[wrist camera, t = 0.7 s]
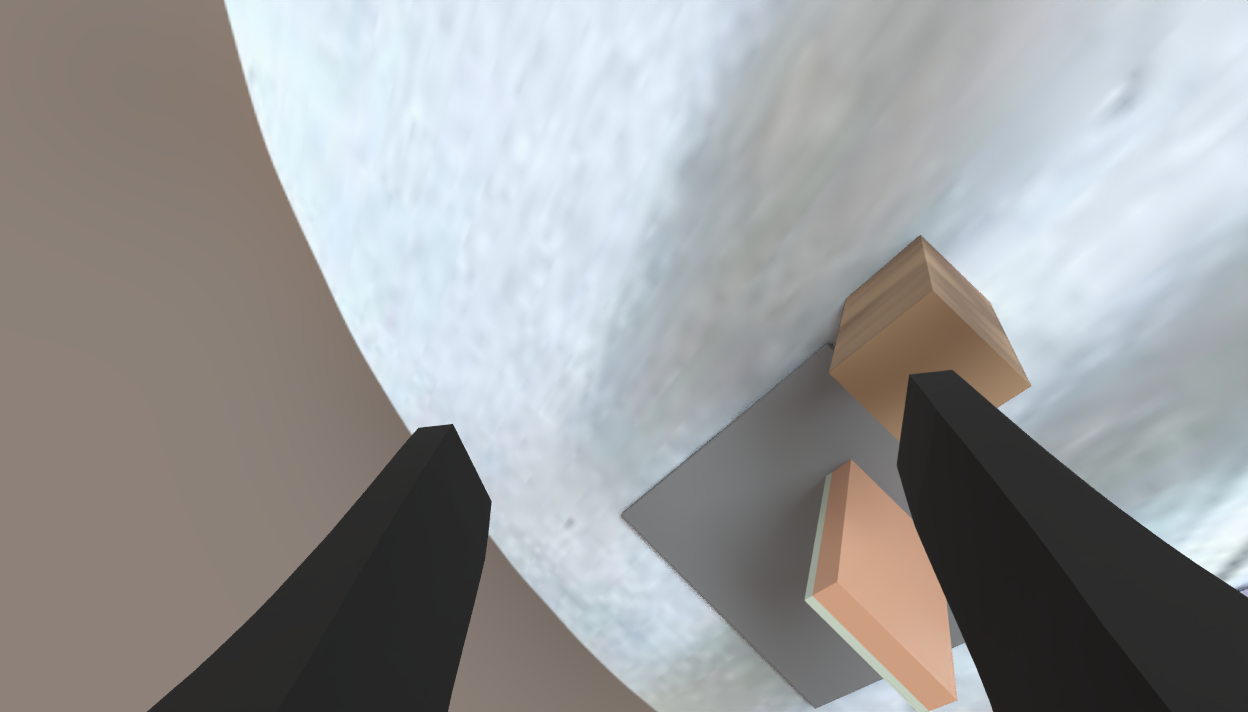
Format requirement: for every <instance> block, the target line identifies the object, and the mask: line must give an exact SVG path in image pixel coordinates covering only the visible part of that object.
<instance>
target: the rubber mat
mask: <svg viewBox="0 0 1248 712" xmlns="http://www.w3.org/2000/svg"><path fill="white" fill-rule="evenodd" d="M833 353H834V348H833V347H832V346H831V345H830V344H829V343H827V344H826V345H825V346H823V347H822V348H821V349H820V350H819V351H817V352H816V353H815V354H814V355H813V356H811V357H810V358H809V359H808V360H807V361H805V362H804V363H803V364H802V365H800V366H799V367H798V368H797V369H796V370H794V371H793V372H792V373H791V374H790V375H788V376H787V377H786V378H785V379H784V380H782V381H781V382H780V383H779V384H778V385H776V386H775V387H774V388H773V389H771V390H770V391H769V392H768V393H767V394H765V395H764V396H763V397H762V398H761V399H759V400H758V401H757V402H756V403H755V404H753V405H752V406H751V407H750V408H748V409H747V410H746V411H745V412H744V413H742V414H741V415H740V416H739V417H738V418H736V419H735V420H734V421H733V422H732V423H730V424H729V425H728V426H727V427H726V428H724V429H723V430H722V431H721V432H719V433H718V434H717V435H716V436H715V437H713V438H712V439H711V440H710V441H709V442H707V443H706V444H705V445H704V446H703V447H701V448H700V449H699V450H698V451H696V452H695V453H694V454H693V455H692V456H690V457H689V458H688V459H687V460H686V461H684V462H683V463H682V464H681V465H680V466H678V467H677V468H676V469H675V470H673V471H672V472H671V473H670V474H669V475H667V476H666V477H665V478H664V479H663V480H661V481H660V482H659V483H658V484H657V485H655V486H654V487H653V488H652V489H651V490H649V491H648V492H647V493H646V494H644V495H643V496H642V497H641V498H640V499H638V500H637V501H636V502H635V503H634V504H632V505H631V506H630V507H629V508H628V509H626V510H625V511H624V512H623V513H622V515H621V516H622V517H623V518H624V519H625V520H626V521H627V522H628V523H629V524H630V525H631V526H632V527H633V528H634V529H635V530H636V531H637V532H638V533H639V534H640V535H641V536H642V537H643V538H644V539H645V540H646V541H647V542H648V543H649V544H650V545H651V546H652V547H653V548H654V549H655V550H656V551H657V552H658V553H659V554H660V555H661V556H662V557H663V558H664V559H665V560H666V561H667V562H668V563H669V564H670V565H671V566H672V567H673V568H674V569H675V570H676V571H677V572H678V573H679V574H680V575H681V576H682V577H683V578H684V579H685V580H686V581H687V582H688V583H689V584H690V585H691V586H692V587H693V588H694V589H695V590H696V591H697V592H698V593H699V594H700V595H701V596H702V597H703V598H704V599H705V600H706V601H707V602H708V603H709V604H710V605H711V606H712V607H713V608H714V609H715V610H716V611H717V612H718V613H719V614H720V615H722V616H723V617H724V618H725V619H726V620H727V621H728V622H729V623H730V624H731V625H732V626H733V627H734V628H735V629H736V630H737V631H738V632H739V633H740V634H741V635H742V636H743V637H744V638H745V639H746V640H747V641H748V642H749V643H750V644H751V645H752V646H753V647H754V648H755V649H756V650H757V651H758V652H759V653H760V654H761V655H762V656H763V657H764V658H765V659H766V660H767V661H768V662H769V663H770V664H771V665H772V666H773V667H774V668H775V669H776V670H777V671H778V672H779V673H780V674H781V675H782V676H783V677H784V678H785V679H786V680H787V681H788V682H789V683H790V684H791V685H792V686H793V687H794V688H795V689H796V690H797V691H798V692H799V693H800V694H801V695H802V696H803V697H804V698H805V699H806V700H807V701H808V702H809V703H810V704H811V705H812V706H813V707H814V708H815V709H816V708H818V707H820V706H822V705H825V704H827V703H829V702H831V701H834V700H836V699H838V698H841V697H843V696H845V695H847V694H850V693H852V692H854V691H856V690H859V689H861V688H863V687H865V686H868V685H870V684H872V683H874V682H877V681H879V680H881V679H883V678H882V677H881V676H880V675H879V674H878V673H877V672H876V671H875V670H874V669H873V668H872V667H871V666H870V665H869V664H868V663H867V662H866V661H865V660H864V659H863V658H862V657H861V656H860V655H859V654H858V653H857V652H856V651H855V650H854V649H853V648H852V647H851V646H850V645H849V644H848V643H847V642H846V641H845V640H844V639H843V638H842V637H841V636H840V635H839V634H838V633H837V632H836V631H835V630H834V629H833V628H832V627H831V626H830V625H829V624H828V623H827V622H826V621H825V620H824V619H823V618H822V617H821V616H820V615H819V614H818V613H817V612H816V611H815V610H814V609H813V608H812V607H811V606H810V605H809V604H808V603H807V602H806V601H805V594H806V588H807V582H808V577H809V571H810V565H811V560H812V554H813V548H814V542H815V537H816V531H817V525H818V520H819V514H820V508H821V502H822V497H823V491H824V485H825V479H826V476H827V475H829V474H830V473H832V472H833V471H835V470H836V469H838V468H839V467H840V466H842V465H843V464H845V463H846V462H848V461H849V460H851V459H852V460H853V461H854V462H855V463H856V464H857V465H858V466H859V467H860V468H861V469H862V470H863V471H864V472H865V473H866V474H867V475H868V476H869V477H870V478H871V479H872V480H873V481H874V482H875V483H876V484H877V485H878V486H879V487H880V488H881V489H882V490H883V491H884V492H885V493H886V494H887V495H888V496H889V497H890V498H891V499H892V500H893V501H894V502H895V503H896V504H897V505H898V506H899V507H900V508H901V509H902V510H904V511H905V512H906V513H907V514H908V515H909V516H910V517H911V518H912V516H911V513H910V510H909V506H908V503H907V500H906V496H905V493H904V490H903V486H902V483H901V479H900V476H899V472H898V469H897V458H898V451H899V443H900V442H899V441H898V440H897V439H896V438H895V437H894V436H893V435H892V434H891V433H890V432H889V431H888V430H887V429H886V428H885V427H884V426H883V425H882V424H881V423H880V422H879V421H878V420H877V419H876V418H875V417H874V416H873V415H872V414H870V413H869V412H868V411H867V410H866V409H865V408H864V407H863V406H862V405H861V404H860V403H859V402H858V401H857V400H856V399H855V398H854V397H853V396H852V395H851V394H850V393H849V392H848V391H847V390H846V389H845V388H844V387H843V386H842V385H841V384H840V383H839V382H838V381H837V380H836V379H835V378H834V377H833V376H832V375H831V374H830V373H829V370H830V366H831V362H832V358H833ZM946 602H947V600H946ZM947 611H948V620H949V629H950V638H951V647H952V648H954V647H956V646H958V645H960V644H963V643H965V641H964V638H963V636H962V634H961V632H960V629H959V627H958V625H957V622H956V620H955V618H954V616H953V613H952V611H951V609H950V607H949V604H948V602H947Z"/></svg>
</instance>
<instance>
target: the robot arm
mask: <svg viewBox="0 0 1248 712" xmlns="http://www.w3.org/2000/svg"><path fill="white" fill-rule="evenodd" d="M897 469H898V472H899V476H900V479H901V483H902V486H903V490H904V493H905V496H906V500H907V503H908V506H909V510H910V513H911V516H912V519H913V522H914V526H915V528H916V531H917V533H918V535H919V538H920V540H921V542H922V545H923V547H924V549H925V552H926V554H927V556H928V559H929V561H930V563H931V565H932V568H933V570H934V572H935V575H936V577H937V579H938V582H939V584H940V586H941V588H942V591H943V593H944V595H945V597H946V600H947V602H948V604H949V607H950V609H951V611H952V613H953V616H954V618H955V620H956V622H957V625H958V627H959V629H960V632H961V634H962V636H963V638H964V641H965V643H966V645H967V647H968V650H969V652H970V654H971V657H972V659H973V661H974V663H975V666H976V668H977V670H978V673H979V676H980V678H981V681H982V683H983V686H984V688H985V691H986V693H987V696H988V698H989V701H990V704H991V707H992V710H993V712H1248V589H1246V590H1243V591H1241V592H1239V591H1238V590H1236V589H1234V588H1233V587H1231V586H1230V585H1228V584H1227V583H1225V582H1224V581H1222V580H1221V579H1219V578H1218V577H1216V576H1215V575H1213V574H1212V573H1210V572H1208V571H1207V570H1205V569H1204V568H1202V567H1201V566H1199V565H1198V564H1196V563H1195V562H1193V561H1192V560H1190V559H1189V558H1188V557H1186V556H1185V555H1183V554H1182V553H1180V552H1179V551H1177V550H1176V549H1174V548H1173V547H1172V546H1170V545H1169V544H1167V543H1166V542H1165V541H1163V540H1162V539H1160V538H1159V537H1158V536H1156V535H1155V534H1153V533H1152V532H1151V531H1149V530H1148V529H1147V528H1145V527H1144V526H1143V525H1141V524H1140V523H1139V522H1137V521H1136V520H1134V519H1133V518H1132V517H1130V516H1129V515H1128V514H1126V513H1125V512H1124V511H1122V510H1121V509H1120V508H1118V507H1117V506H1116V505H1114V504H1113V503H1112V502H1110V501H1109V500H1108V499H1107V498H1105V497H1104V496H1103V495H1101V494H1100V493H1099V492H1097V491H1096V490H1095V489H1094V488H1092V487H1091V486H1090V485H1089V484H1087V483H1086V482H1085V481H1084V480H1082V479H1081V478H1080V477H1079V476H1077V475H1076V474H1075V473H1074V472H1072V471H1071V470H1070V469H1069V468H1067V467H1066V466H1065V465H1064V464H1063V463H1061V462H1060V461H1059V460H1058V459H1056V458H1055V457H1054V456H1053V455H1051V454H1050V453H1049V452H1048V451H1046V450H1045V449H1044V448H1043V447H1042V446H1040V445H1039V444H1038V443H1037V442H1036V441H1035V440H1033V439H1032V438H1031V437H1030V436H1029V435H1027V434H1026V433H1025V432H1024V431H1023V430H1022V429H1020V428H1019V427H1018V426H1017V425H1016V424H1015V423H1013V422H1012V421H1011V420H1010V419H1009V418H1008V417H1006V416H1005V415H1004V414H1003V413H1002V412H1001V411H1000V410H998V409H997V408H996V407H995V406H994V405H993V404H992V403H990V402H989V401H988V400H987V399H986V398H985V397H984V396H982V395H981V394H980V393H979V392H978V391H977V390H976V389H974V388H973V387H972V386H971V385H970V384H969V383H968V382H966V381H965V380H964V379H963V378H962V377H961V376H959V375H958V374H957V373H956V372H955V371H953V370H945V371H936V372H927V373H917V374H909V379H908V386H907V393H906V400H905V408H904V415H903V422H902V429H901V436H900V443H899V451H898V458H897ZM491 502H492V501H491V499H490V497H489V495H488V493H487V491H486V489H485V487H484V485H483V483H482V481H481V479H480V477H479V475H478V473H477V471H476V469H475V467H474V465H473V463H472V461H471V459H470V457H469V455H468V453H467V451H466V449H465V447H464V445H463V443H462V441H461V439H460V437H459V435H458V433H457V431H456V429H455V427H454V425H453V424H449V425H440V426H431V427H422V428H418V429H417V430H416V431H415V432H414V434H413V435H412V436H411V437H410V438H409V439H408V440H407V442H406V443H405V444H404V445H403V446H402V448H401V449H400V450H399V451H398V452H397V453H396V455H395V456H394V457H393V458H392V460H391V461H390V462H389V463H388V464H387V465H386V467H385V468H384V469H383V470H382V471H381V473H380V474H379V475H378V476H377V478H376V479H375V480H374V481H373V482H372V484H371V485H370V486H369V487H368V488H367V490H366V491H365V492H364V493H363V494H362V496H361V497H360V498H359V499H358V500H357V501H356V503H355V504H354V505H353V506H352V507H351V509H350V510H349V511H348V512H347V513H346V514H345V515H344V517H343V518H342V519H341V520H340V521H339V523H338V524H337V525H336V526H335V527H334V529H333V530H332V531H331V532H330V533H329V534H328V535H327V537H326V538H325V539H324V540H323V541H322V542H321V543H320V544H319V545H318V546H317V548H316V549H315V550H314V551H313V552H312V553H311V554H310V555H309V556H308V557H307V558H306V559H305V561H304V562H303V563H302V564H301V565H300V566H299V567H298V568H297V569H296V570H295V571H294V573H293V574H292V575H291V576H290V577H289V578H288V579H287V580H286V581H285V582H284V583H283V585H282V586H281V587H280V588H279V589H278V590H277V591H276V592H275V593H274V594H273V595H272V596H271V598H269V599H268V600H267V602H266V603H265V604H264V605H263V606H262V607H261V608H260V609H259V610H258V611H257V612H256V613H255V614H254V615H253V616H252V617H251V618H250V619H249V620H248V621H247V622H246V623H245V624H244V625H243V626H242V627H240V629H238V631H236V632H235V633H234V634H233V635H232V636H231V637H230V638H229V639H228V640H227V641H226V642H225V643H224V644H223V645H222V646H220V647H219V648H218V649H217V651H215V652H214V653H213V654H212V655H211V656H210V657H209V658H208V659H207V660H206V661H205V662H203V663H202V664H201V665H200V666H199V667H198V668H197V669H196V670H195V671H194V672H193V673H191V674H190V675H189V676H188V677H187V678H186V679H184V680H183V681H182V682H181V683H180V684H179V685H177V686H176V687H175V688H174V689H173V690H172V691H170V692H169V693H168V694H167V695H166V696H165V697H163V699H161V700H160V701H159V702H158V703H157V704H155V705H154V706H153V707H152V708H151V709H150V710H149V711H147V712H448V709H449V704H450V699H451V695H452V690H453V686H454V682H455V678H456V674H457V670H458V666H459V662H460V658H461V654H462V650H463V646H464V642H465V638H466V634H467V630H468V627H469V623H470V619H471V614H472V611H473V607H474V603H475V599H476V594H477V590H478V586H479V582H480V578H481V574H482V569H483V565H484V561H485V554H486V547H487V538H488V531H489V522H490V512H491Z"/></svg>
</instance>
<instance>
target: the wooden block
mask: <svg viewBox="0 0 1248 712" xmlns="http://www.w3.org/2000/svg"><path fill="white" fill-rule="evenodd" d="M945 370H953V371H955V372H956V373H957V374H958V375H959V376H961V377H962V378H963V379H964V380H965V381H966V382H968V383H969V384H970V385H971V386H972V387H973V388H974V389H976V390H977V391H978V392H979V393H980V394H981V395H982V396H984V397H985V398H986V399H987V400H988V401H989V402H990V403H992V404H993V405H994V406H995V407H996V408H998V407H999V406H1001V405H1002V404H1004V403H1006V402H1007V401H1009V400H1010V399H1012V398H1013V397H1015V396H1017V395H1018V394H1020V393H1021V392H1023V391H1024V390H1026V389H1027V388H1029V387H1031V384H1030V382H1029V380H1028V378H1027V376H1026V374H1025V372H1024V370H1023V368H1022V366H1021V364H1020V362H1019V360H1018V358H1017V356H1016V354H1015V352H1014V350H1013V348H1012V346H1011V344H1010V342H1009V340H1008V338H1007V336H1006V334H1005V332H1004V330H1003V328H1002V326H1001V324H1000V322H999V320H998V318H997V316H996V314H995V312H994V309H993V307H992V305H991V303H990V302H989V301H988V300H987V299H986V298H985V297H984V296H983V295H982V294H981V293H980V292H979V291H978V290H977V289H976V288H975V287H974V286H973V285H972V284H971V283H970V282H969V281H968V280H967V279H966V278H965V277H963V276H962V275H961V274H960V273H959V272H958V271H957V270H956V269H955V268H954V267H953V266H952V265H951V264H950V263H949V262H948V261H947V260H946V259H945V258H944V257H943V256H942V255H941V254H940V253H939V252H938V251H937V250H936V249H935V248H934V247H932V246H931V245H930V244H929V243H928V242H927V241H926V240H925V239H924V238H923V237H922V236H921V235H920V236H919V237H918V238H917V239H915V240H914V241H913V242H912V243H911V244H910V245H908V246H907V247H906V248H905V249H904V250H903V251H901V252H900V253H899V254H898V255H897V256H896V257H894V258H893V259H892V260H891V261H890V262H889V263H887V264H886V265H885V266H884V267H883V268H882V269H880V270H879V271H878V272H877V273H876V274H875V275H873V276H872V277H871V278H870V279H869V280H868V281H866V282H865V283H864V284H863V285H862V286H861V287H859V288H858V289H857V290H856V291H855V292H854V293H852V294H851V295H850V296H849V297H848V298H847V299H846V302H845V306H844V310H843V315H842V319H841V323H840V328H839V332H838V336H837V340H836V345H835V349H834V353H833V358H832V362H831V366H830V370H829V373H830V374H831V375H832V376H833V377H834V378H835V379H836V380H837V381H838V382H839V383H840V384H841V385H842V386H843V387H844V388H845V389H846V390H847V391H848V392H849V393H850V394H851V395H852V396H853V397H854V398H855V399H856V400H857V401H858V402H859V403H860V404H861V405H862V406H863V407H864V408H865V409H866V410H867V411H868V412H869V413H870V414H872V415H873V416H874V417H875V418H876V419H877V420H878V421H879V422H880V423H881V424H882V425H883V426H884V427H885V428H886V429H887V430H888V431H889V432H890V433H891V434H892V435H893V436H894V437H895V438H896V439H897V440H898V441H899V442H900V436H901V429H902V422H903V415H904V408H905V400H906V393H907V386H908V379H909V374H917V373H927V372H936V371H945Z"/></svg>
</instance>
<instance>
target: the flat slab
mask: <svg viewBox="0 0 1248 712" xmlns="http://www.w3.org/2000/svg"><path fill="white" fill-rule="evenodd" d="M805 601H806V602H807V603H808V604H809V605H810V606H811V607H812V608H813V609H814V610H815V611H816V612H817V613H818V614H819V615H820V616H821V617H822V618H823V619H824V620H825V621H826V622H827V623H828V624H829V625H830V626H831V627H832V628H833V629H834V630H835V631H836V632H837V633H838V634H839V635H840V636H841V637H842V638H843V639H844V640H845V641H846V642H847V643H848V644H849V645H850V646H851V647H852V648H853V649H854V650H855V651H856V652H857V653H858V654H859V655H860V656H861V657H862V658H863V659H864V660H865V661H866V662H867V663H868V664H869V665H870V666H871V667H872V668H873V669H874V670H875V671H876V672H877V673H878V674H879V675H880V676H881V677H882V678H883V679H884V680H885V681H886V682H887V683H888V684H889V685H890V686H892V687H893V688H894V689H895V690H896V691H897V692H898V693H899V694H900V695H901V696H902V697H903V698H904V699H905V700H906V701H907V702H908V703H909V704H910V705H911V706H912V707H913V708H914V709H915V710H916V711H917V712H928V711H931V710H933V709H936V708H939V707H941V706H944V705H946V704H949V703H951V702H954V701H956V700H957V692H956V683H955V674H954V665H953V656H952V647H951V638H950V629H949V620H948V611H947V602H946V597H945V595H944V593H943V591H942V588H941V586H940V584H939V582H938V579H937V577H936V575H935V572H934V570H933V568H932V565H931V563H930V561H929V559H928V556H927V554H926V552H925V549H924V547H923V545H922V542H921V540H920V538H919V535H918V533H917V531H916V528H915V526H914V522H913V519H912V518H911V517H910V516H909V515H908V514H907V513H906V512H905V511H904V510H902V509H901V508H900V507H899V506H898V505H897V504H896V503H895V502H894V501H893V500H892V499H891V498H890V497H889V496H888V495H887V494H886V493H885V492H884V491H883V490H882V489H881V488H880V487H879V486H878V485H877V484H876V483H875V482H874V481H873V480H872V479H871V478H870V477H869V476H868V475H867V474H866V473H865V472H864V471H863V470H862V469H861V468H860V467H859V466H858V465H857V464H856V463H855V462H854V461H853V460H852V459H851V460H849V461H848V462H846V463H845V464H843V465H842V466H840V467H839V468H838V469H836V470H835V471H833V472H832V473H830V474H829V475H827V476H826V479H825V485H824V491H823V497H822V502H821V508H820V514H819V520H818V525H817V531H816V537H815V542H814V548H813V554H812V560H811V565H810V571H809V577H808V582H807V588H806V594H805Z"/></svg>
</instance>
